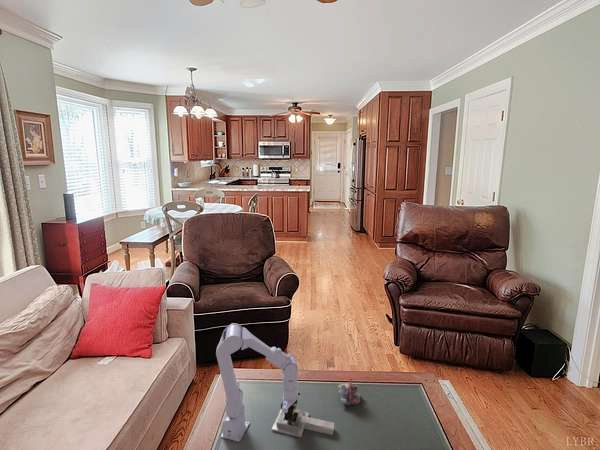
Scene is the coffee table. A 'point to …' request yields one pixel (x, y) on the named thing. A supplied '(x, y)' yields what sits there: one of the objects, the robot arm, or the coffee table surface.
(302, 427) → the white stepped square fixture
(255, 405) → the coffee table surface
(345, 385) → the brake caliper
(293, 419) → the pin
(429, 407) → the coffee table surface
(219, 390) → the coffee table surface
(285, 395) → the robot arm
